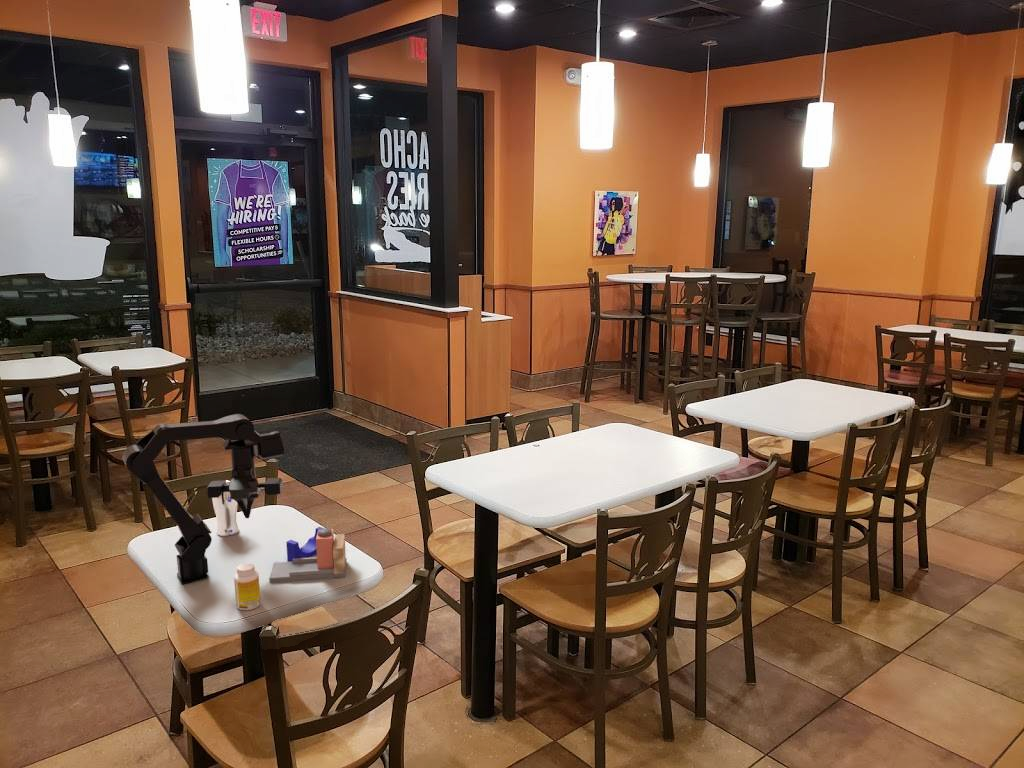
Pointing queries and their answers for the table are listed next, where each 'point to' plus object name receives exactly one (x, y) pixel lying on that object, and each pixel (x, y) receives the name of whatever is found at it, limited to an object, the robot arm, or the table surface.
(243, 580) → the supplement bottle
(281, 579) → the socket board
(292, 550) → the blue curved piece
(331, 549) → the orange upright block
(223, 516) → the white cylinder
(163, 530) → the table surface
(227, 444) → the robot arm
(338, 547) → the socket block
